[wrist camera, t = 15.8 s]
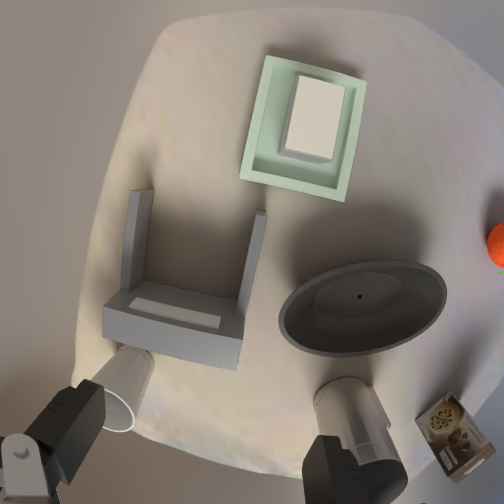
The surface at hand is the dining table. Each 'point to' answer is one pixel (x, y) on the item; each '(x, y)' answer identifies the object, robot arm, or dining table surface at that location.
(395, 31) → the dining table surface
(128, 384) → the cup
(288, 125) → the white block
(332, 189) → the tray
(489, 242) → the clementine
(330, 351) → the bowl
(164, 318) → the bay
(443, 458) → the coffee box
